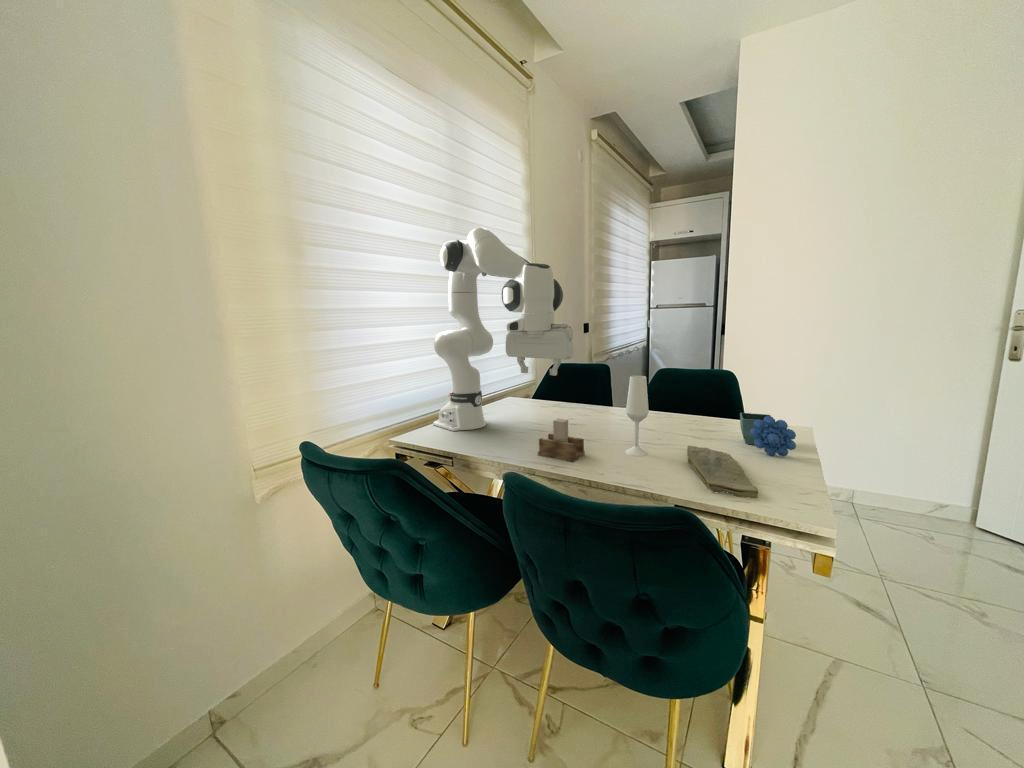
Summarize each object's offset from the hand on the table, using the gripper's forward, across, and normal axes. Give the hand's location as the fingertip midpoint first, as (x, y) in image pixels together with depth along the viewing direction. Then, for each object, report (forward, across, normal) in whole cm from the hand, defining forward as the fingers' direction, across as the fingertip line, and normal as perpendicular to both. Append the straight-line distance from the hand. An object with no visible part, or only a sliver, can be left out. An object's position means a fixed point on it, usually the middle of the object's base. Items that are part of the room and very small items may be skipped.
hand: (538, 374), depth 110 cm
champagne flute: (+27, -20, -26) cm, 42 cm away
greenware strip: (+26, -1, -11) cm, 28 cm away
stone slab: (+27, -43, -21) cm, 55 cm away
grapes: (+27, -55, -42) cm, 74 cm away
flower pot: (+27, -50, -54) cm, 78 cm away
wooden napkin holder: (+27, -1, -12) cm, 29 cm away
